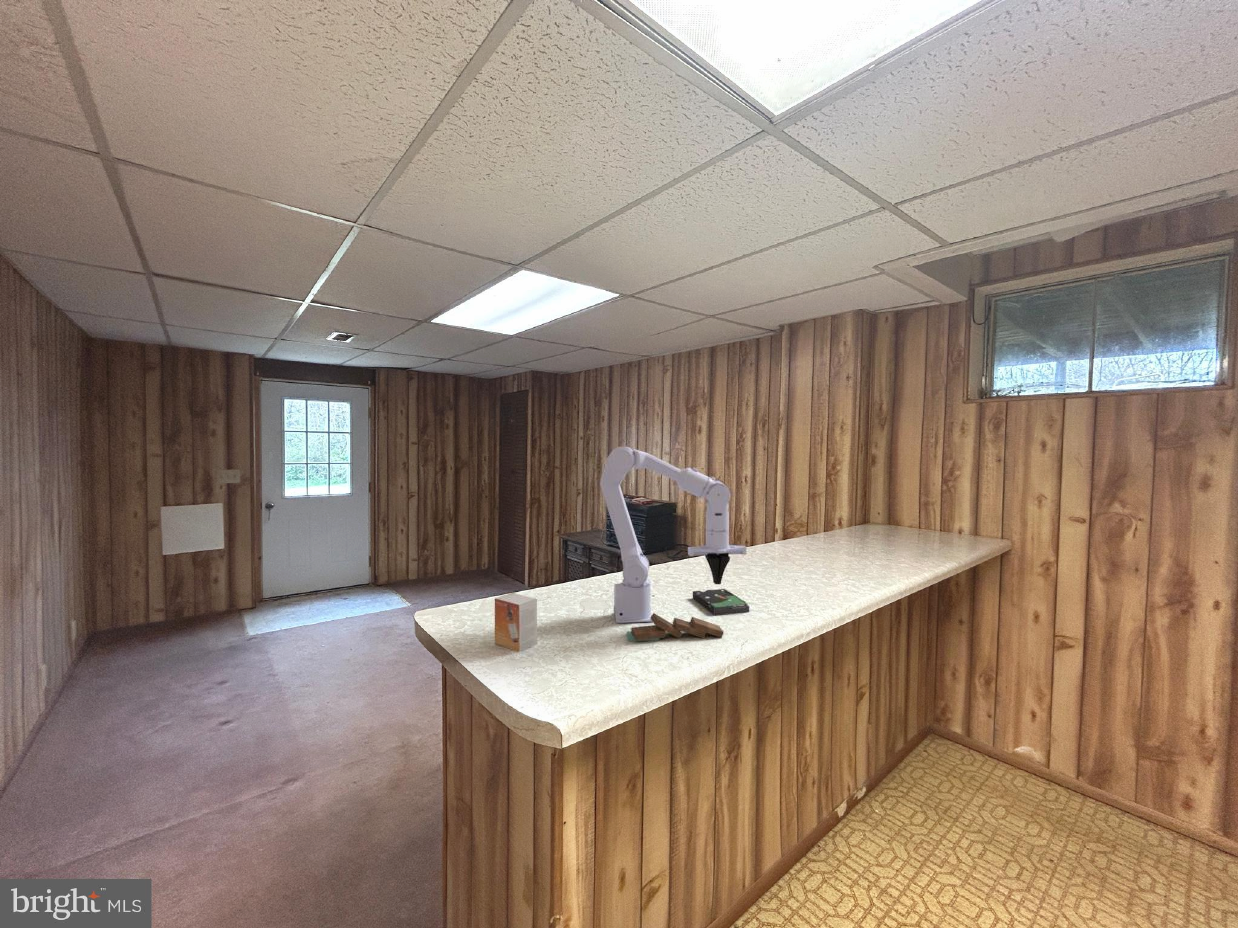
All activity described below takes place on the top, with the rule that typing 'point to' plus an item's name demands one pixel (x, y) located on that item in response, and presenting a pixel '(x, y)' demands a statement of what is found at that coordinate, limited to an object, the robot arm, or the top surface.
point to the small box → (515, 621)
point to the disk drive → (720, 602)
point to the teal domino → (631, 638)
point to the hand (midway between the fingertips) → (717, 583)
